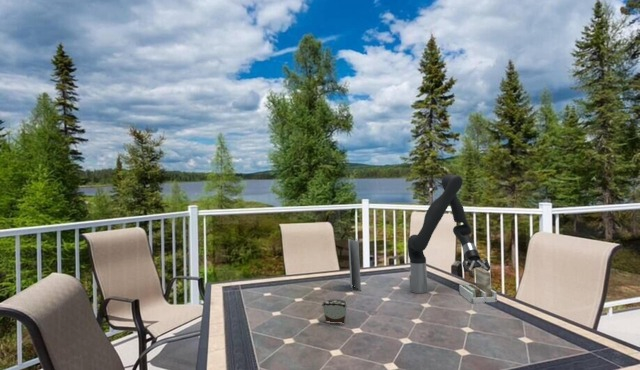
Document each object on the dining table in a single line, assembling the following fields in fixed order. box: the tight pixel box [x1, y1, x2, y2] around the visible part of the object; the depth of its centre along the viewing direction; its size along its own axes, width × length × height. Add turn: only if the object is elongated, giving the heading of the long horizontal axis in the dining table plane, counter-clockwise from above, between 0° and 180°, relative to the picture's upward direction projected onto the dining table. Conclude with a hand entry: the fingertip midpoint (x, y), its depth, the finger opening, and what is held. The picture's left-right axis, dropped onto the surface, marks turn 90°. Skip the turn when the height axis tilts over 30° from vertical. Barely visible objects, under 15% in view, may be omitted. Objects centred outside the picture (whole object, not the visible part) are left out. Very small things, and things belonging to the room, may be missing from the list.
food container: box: [321, 298, 348, 324], centre depth 177 cm, size 12×6×10 cm, turn 71°
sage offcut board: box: [463, 284, 476, 298], centre depth 202 cm, size 2×10×6 cm, turn 0°
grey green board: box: [474, 268, 492, 297], centre depth 202 cm, size 3×12×15 cm, turn 0°
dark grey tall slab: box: [347, 238, 362, 291], centre depth 233 cm, size 14×6×30 cm, turn 179°
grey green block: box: [468, 284, 480, 298], centre depth 202 cm, size 2×10×6 cm, turn 0°
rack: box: [458, 283, 498, 304], centre depth 202 cm, size 13×17×5 cm
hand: (480, 277), depth 205 cm, fingers open, 8 cm apart
